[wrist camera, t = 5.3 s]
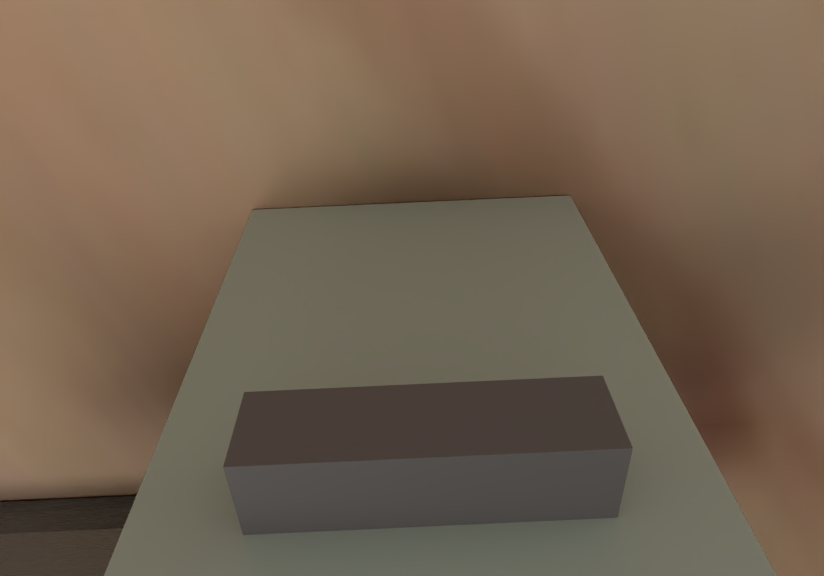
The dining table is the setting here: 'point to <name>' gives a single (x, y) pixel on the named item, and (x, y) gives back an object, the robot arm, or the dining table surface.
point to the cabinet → (429, 411)
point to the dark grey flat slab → (61, 535)
